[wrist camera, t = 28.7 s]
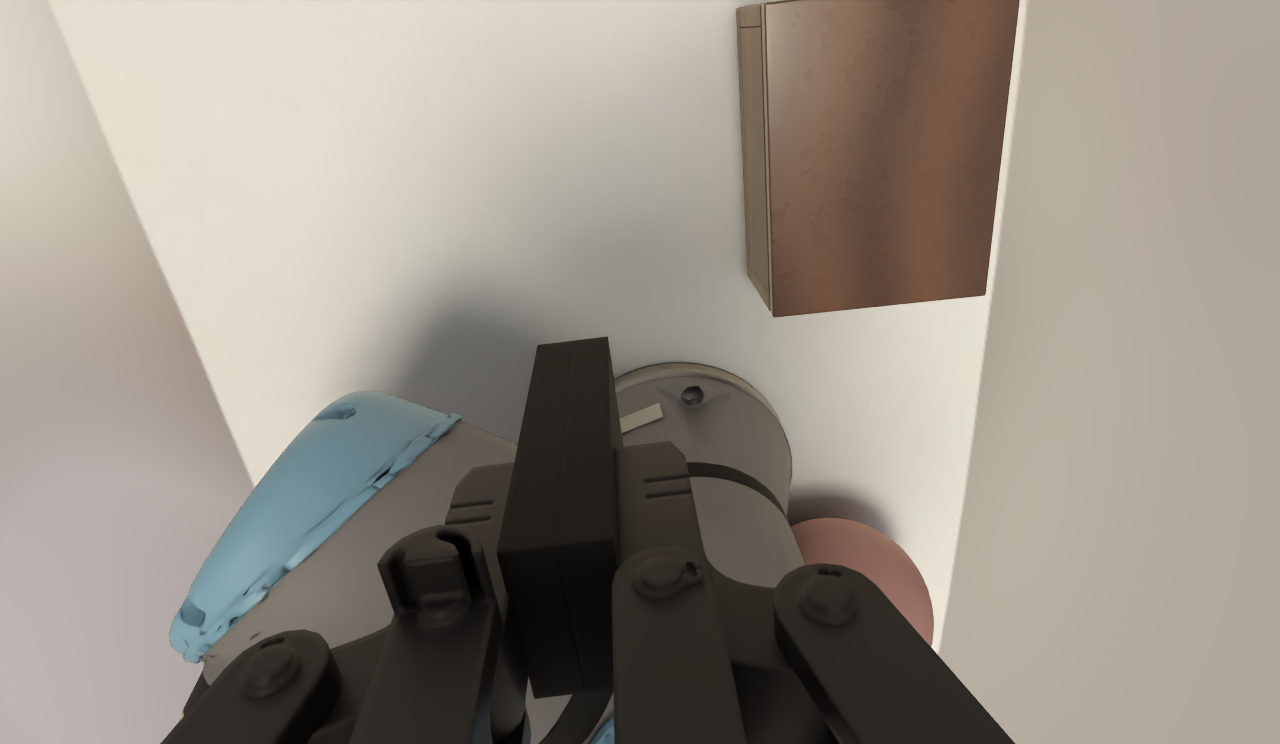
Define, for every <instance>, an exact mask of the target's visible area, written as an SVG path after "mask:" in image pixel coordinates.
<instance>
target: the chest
mask: <svg viewBox="0 0 1280 744" xmlns="http://www.w3.org/2000/svg"><path fill="white" fill-rule="evenodd" d="M761 5H762V4H757V5H752V6H746V7H741V8H737V9H736V13H737V36H738V59H739V82H740V104H741V127H742V150H743V172H744V195H745V218H746V241H747V263H748V276H749V278H750V279H751V281H752V283H753V284H754V286H755V288H756V289H757V291H758V293H759V294H760V296H761V298H762V299H763V301H764V302H765V304H766V306H767V307H768V309H769V311H770V285H769V251H768V218H767V184H766V151H765V118H764V84H763V51H762V17H761Z"/></svg>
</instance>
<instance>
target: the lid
mask: <svg viewBox="0 0 1280 744" xmlns="http://www.w3.org/2000/svg"><path fill="white" fill-rule="evenodd" d="M1018 9H1019V0H784V1H776V2H768V3H763V4H762V5H761V17H762V51H763V84H764V118H765V151H766V184H767V218H768V251H769V285H770V311H771V313H772V315H773V317H782V316H792V315H801V314H811V313H821V312H830V311H840V310H849V309H859V308H868V307H878V306H888V305H897V304H907V303H916V302H926V301H935V300H945V299H955V298H964V297H974V296H983V295H985V293H986V285H987V276H988V268H989V259H990V250H991V242H992V233H993V224H994V216H995V207H996V199H997V190H998V181H999V173H1000V164H1001V155H1002V147H1003V138H1004V130H1005V121H1006V112H1007V104H1008V95H1009V86H1010V78H1011V69H1012V61H1013V52H1014V43H1015V35H1016V26H1017V17H1018Z"/></svg>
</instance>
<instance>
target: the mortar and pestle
mask: <svg viewBox="0 0 1280 744" xmlns="http://www.w3.org/2000/svg"><path fill="white" fill-rule="evenodd" d="M790 528H791V530H792V532H793V535H794V537H795V540H796V542H797V545H798V547H799V550H800V552H801V555H802V557H803V559H804V562H805V564H806V565H811V564H818V563H826V564H835V565H843V566H845V567H848V568H850V569H853V570H855V571H858V572H860V573H862V574H863V575H865V576H866V577H867V578H868V579H870V580H871V581H872V582H873V583H875V584H876V585H877V586H878V587H879V588H880V590H881V591H882V592H883V593H884V594H885V595H886V596H887V598H888V599H889V600H890V601H891V602H892V603H893V604H894V606H895V607H896V608H897V609H898V610H899V611H900V612H901V614H902V615H903V616H904V617H905V618H906V619H907V620H908V622H909V623H910V624H911V625H912V626H913V627H914V628H915V630H916V631H917V632H918V633H919V634H920V635H921V636H922V638H923V639H924V640H925V641H926V642H927V643H928V644H929V646H930V647H931V645H932V639H933V630H934V619H933V609H932V604H931V600H930V596H929V592H928V589H927V587H926V584H925V582H924V580H923V578H922V576H921V574H920V572H919V570H918V569H917V567H916V565H915V564H914V562H913V561H912V560H911V559H910V557H909V556H908V555H907V554H906V552H905V551H904V550H903V549H902V548H901V547H900V546H899V545H897V544H896V543H895V542H894V541H893V540H892V539H890V538H889V537H887V536H886V535H884V534H883V533H881V532H880V531H878V530H876V529H874V528H872V527H870V526H867V525H865V524H862V523H860V522H856V521H852V520H848V519H841V518H816V519H811V520H807V521H803V522H800V523H797V524H795V525H793V526H791V527H790Z"/></svg>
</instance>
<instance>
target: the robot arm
mask: <svg viewBox="0 0 1280 744" xmlns="http://www.w3.org/2000/svg"><path fill="white" fill-rule="evenodd" d="M462 418H463V416H461V415H459V414H457V413H450V414H444V413H441V412H438V411H435V410H432V409H430V408H427V407H424V406H421V405H418V404H415V403H412V402H410V401H407V400H404V399H401V398H398V397H395V396H392V395H390V394H387V393H383V392H378V391H360V392H355V393H352V394H349V395H346V396H344V397H342V398H340V399H338V400H336V401H335V402H333V403H331V404H330V405H329V406H327V407H326V408H325V409H324V410H322V411H321V412H320V413H319V414H318V415H317V416H316V417H315V418H314V419H313V420H312V421H311V422H310V423H309V424H308V425H307V426H306V427H305V428H304V429H303V430H302V431H301V432H300V433H299V434H298V435H297V437H296V438H295V439H294V440H293V441H292V442H291V443H290V445H289V446H288V447H287V448H286V449H285V451H284V452H283V453H282V454H281V455H280V457H279V458H278V459H277V460H276V461H275V463H274V464H273V465H272V467H271V468H270V469H269V470H268V472H267V473H266V474H265V476H264V477H263V478H262V479H261V481H260V482H259V483H258V485H257V486H256V487H255V489H254V490H253V491H252V493H251V494H250V496H249V497H248V498H247V500H246V501H245V502H244V504H243V505H242V507H241V508H240V509H239V511H238V512H237V514H236V515H235V516H234V518H233V519H232V521H231V522H230V523H229V525H228V527H227V528H226V530H225V531H224V533H223V534H222V536H221V537H220V538H219V540H218V541H217V543H216V544H215V546H214V548H213V549H212V551H211V552H210V554H209V556H208V557H207V559H206V560H205V562H204V563H203V565H202V567H201V568H200V570H199V572H198V574H197V575H196V577H195V579H194V581H193V582H192V584H191V587H190V590H189V594H188V596H187V598H186V599H185V601H184V603H183V605H182V606H181V608H180V609H179V611H178V613H177V614H176V616H175V617H174V619H173V622H172V624H171V628H170V631H169V640H170V644H171V646H172V648H173V649H174V650H176V651H177V652H179V653H181V654H182V655H183V658H184V660H185V661H186V662H191V663H199V662H200V661H202V662H205V663H204V668H203V671H202V673H201V675H200V677H199V679H198V681H197V683H196V685H195V687H194V689H193V691H192V693H191V695H190V697H189V699H188V701H187V703H186V705H185V707H184V709H183V711H182V713H181V715H180V717H179V723H178V724H177V725H176V726H175V727H174V729H173V730H172V731H171V732H170V733H169V734H168V736H167V737H166V738H165V739H164V740H163V741H162V743H161V744H1015V743H1014V742H1013V741H1012V739H1011V738H1010V737H1009V736H1008V735H1007V734H1006V733H1005V731H1004V730H1003V729H1002V728H1001V727H1000V726H999V725H998V723H997V722H996V721H995V720H994V719H993V718H992V717H991V715H990V714H989V713H988V712H987V711H986V710H985V709H984V707H983V706H982V705H981V704H980V703H979V702H978V701H977V699H976V698H975V697H974V696H973V695H972V694H971V693H970V691H969V690H968V689H967V688H966V687H965V686H964V685H963V684H962V682H961V681H960V680H959V679H958V678H957V677H956V675H955V674H954V673H953V672H952V671H951V670H950V668H949V667H948V666H947V665H946V664H945V663H944V662H943V661H942V659H941V658H940V657H939V656H938V655H937V654H936V652H935V651H934V650H933V649H932V648H931V647H930V646H929V644H928V643H927V642H926V641H925V640H924V639H923V638H922V636H921V635H920V634H919V633H918V632H917V631H916V630H915V628H914V627H913V626H912V625H911V624H910V623H909V622H908V620H907V619H906V618H905V617H904V616H903V615H902V614H901V612H900V611H899V610H898V609H897V608H896V607H895V606H894V604H893V603H892V602H891V601H890V600H889V599H888V598H887V596H886V595H885V594H884V593H883V592H882V591H881V590H880V588H879V587H878V586H877V585H876V584H875V583H873V582H872V581H871V580H870V579H868V578H867V577H866V576H865V575H863V574H862V573H860V572H858V571H855V570H853V569H850V568H848V567H845V566H843V565H835V564H826V563H818V564H811V565H806V564H805V562H804V559H803V557H802V555H801V552H800V550H799V547H798V545H797V542H796V540H795V537H794V535H793V532H792V530H791V528H790V525H789V523H788V520H787V512H788V502H789V490H790V484H791V477H792V457H791V451H790V447H789V443H788V440H787V438H786V435H785V433H784V430H783V428H782V426H781V424H780V422H779V420H778V418H777V416H776V414H775V412H774V410H773V409H772V407H771V406H770V405H769V403H768V402H767V401H766V400H765V399H764V397H763V396H762V395H761V394H760V393H759V392H758V391H756V390H755V389H754V388H753V387H752V386H750V385H749V384H747V383H746V382H745V381H743V380H741V379H740V378H738V377H736V376H734V375H732V374H730V373H727V372H725V371H722V370H719V369H716V368H713V367H708V366H704V365H698V364H689V363H671V364H661V365H654V366H650V367H646V368H642V369H639V370H636V371H633V372H630V373H628V374H626V375H623V376H621V377H619V378H617V379H616V380H614V377H613V370H612V363H611V356H610V349H609V342H608V337H600V338H592V339H584V340H576V341H568V342H560V343H552V344H543V345H538V347H537V352H536V357H535V362H534V367H533V372H532V377H531V382H530V387H529V392H528V397H527V402H526V407H525V412H524V417H523V422H522V427H521V432H520V437H519V442H518V445H517V444H514V443H512V442H509V441H507V440H504V439H502V438H500V437H497V436H495V435H493V434H490V433H488V432H485V431H483V430H481V429H478V428H476V427H474V426H471V425H469V424H466V423H464V422H462V421H461V420H462Z"/></svg>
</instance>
